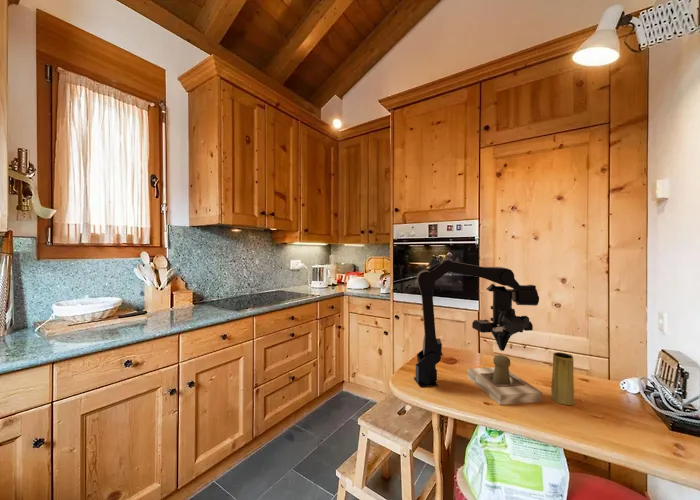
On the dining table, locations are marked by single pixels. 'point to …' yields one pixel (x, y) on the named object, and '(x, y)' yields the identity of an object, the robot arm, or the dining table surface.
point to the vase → (562, 379)
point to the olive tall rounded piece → (501, 370)
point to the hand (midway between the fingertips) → (501, 350)
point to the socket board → (504, 387)
